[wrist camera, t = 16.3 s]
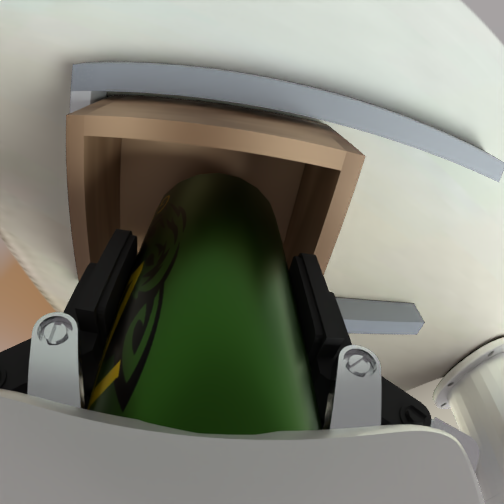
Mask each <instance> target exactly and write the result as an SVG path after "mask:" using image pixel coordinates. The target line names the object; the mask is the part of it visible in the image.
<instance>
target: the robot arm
mask: <svg viewBox="0 0 504 504" xmlns="http://www.w3.org/2000/svg"><path fill="white" fill-rule="evenodd" d="M136 257H137V236H135V235H132V231H129V230H121V229H116V230H115V232H114V233H113V235H112V237H111V239H110V240H109V242H108V244H107V246H106V248H105V250H104V251H103V253H102V255H101V257H100V259H99V261H98V263H89V265H88V266H87V268H86V269H85V271H84V273H83V275H82V277H81V279H80V281H79V283H78V284H77V286H76V288H75V290H74V292H73V294H72V296H71V298H70V300H69V302H68V304H67V306H66V308H65V310H64V312H63V313H62V312H54V313H49V314H47V315H45V316H43V317H41V318H40V319H39V320H38V321H37V322H36V324H35V325H34V328H33V331H32V338H31V339H29V340H27V341H24V342H22V343H20V344H18V345H15V346H13V347H11V348H9V349H7V350H4V351H2V352H0V504H484V502H485V504H504V337H503V338H499V339H496V340H494V341H492V342H490V343H488V344H486V345H484V346H482V347H481V348H479V349H478V350H476V351H474V352H473V353H472V354H470V355H469V356H467V357H466V358H465V359H463V360H462V361H461V362H460V363H458V364H457V365H456V366H455V367H454V368H453V369H452V370H451V371H449V372H448V373H447V374H446V376H445V377H444V378H443V379H442V380H441V381H440V383H439V384H438V385H437V387H436V389H435V391H434V393H433V400H434V402H435V404H436V406H437V407H438V408H443V409H446V408H451V410H452V412H453V414H454V417H455V420H456V422H457V425H458V427H459V429H460V431H459V430H458V429H456V428H454V427H452V426H450V425H448V424H447V423H445V422H443V421H441V420H440V419H438V418H436V417H435V418H434V419H431V415H430V413H429V411H428V409H427V408H426V407H425V406H424V405H423V404H422V403H421V402H419V401H418V400H416V399H415V398H413V397H412V396H410V395H409V394H407V393H406V392H404V391H403V390H401V389H400V388H398V387H397V386H395V385H394V384H392V383H391V382H390V381H388V380H387V379H385V378H384V377H382V376H381V364H380V361H379V359H378V357H377V356H376V355H375V354H374V353H373V352H372V351H370V350H369V349H367V348H365V347H363V346H359V345H352V343H351V341H350V338H349V335H348V332H347V329H346V326H345V323H344V320H343V317H342V314H341V312H340V309H339V306H338V303H337V300H336V298H335V295H334V293H332V292H329V290H328V287H327V284H326V282H325V279H324V276H323V273H322V270H321V268H320V265H319V262H318V259H317V257H316V255H313V254H306V253H299V255H298V256H294V257H293V259H292V262H291V265H290V268H289V274H290V278H291V283H292V287H293V291H294V296H295V300H296V305H297V309H298V313H299V318H300V322H301V327H302V331H303V336H304V341H305V345H306V350H307V355H308V359H309V364H310V369H311V373H312V378H313V383H314V388H315V393H316V398H317V403H318V408H319V413H320V418H321V423H322V428H323V430H307V431H277V432H270V433H264V434H257V435H225V434H202V433H194V432H189V431H184V430H179V429H174V428H169V427H164V426H160V425H155V424H151V423H147V422H143V421H141V420H137V419H131V418H126V417H120V416H115V415H110V414H105V413H100V412H96V411H91V410H87V406H88V402H89V398H90V394H91V391H92V387H93V384H94V380H95V377H96V373H97V370H98V366H99V363H100V360H101V356H102V353H103V350H104V347H105V344H106V340H107V337H108V334H109V331H110V328H111V325H112V322H113V319H114V316H115V314H116V311H117V308H118V305H119V302H120V299H121V297H122V294H123V291H124V288H125V286H126V283H127V280H128V278H129V275H130V272H131V270H132V267H133V265H134V262H135V260H136ZM475 473H476V475H475ZM476 476H477V478H476ZM477 479H478V481H477ZM478 482H479V484H478ZM479 486H480V487H479ZM480 489H481V490H480ZM481 492H482V494H481ZM482 495H483V497H482ZM483 499H484V501H483Z"/></svg>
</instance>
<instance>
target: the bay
mask: <svg viewBox="0 0 504 504" xmlns="http://www.w3.org/2000/svg"><path fill="white" fill-rule="evenodd" d="M107 91H117V92H139V93H155V94H168V95H178V96H188V97H197V98H205V99H213V100H220V101H227V102H234V103H240V104H246V105H252V106H258V107H264V108H269V109H274V110H279V111H284V112H289V113H294V114H298V115H303V116H307V117H311V118H316V119H320V120H324V121H328V122H332V123H336V124H339V125H343V126H347V127H351V128H354V129H358V130H361V131H365V132H368V133H371V134H375V135H378V136H381V137H384V138H388V139H391V140H394V141H397V142H400V143H403V144H406V145H409V146H411V147H414V148H417V149H420V150H423V151H425V152H428V153H431V154H434V155H436V156H439V157H441V158H444V159H447V160H449V161H452V162H454V163H456V164H459V165H461V166H464V167H466V168H468V169H471V170H473V171H475V172H478V173H480V174H482V175H484V176H487V177H489V178H491V179H493V180H495V181H497V182H499V181H500V178H501V176H502V173H503V171H504V162H502V161H501V160H499V159H497V158H496V157H494V156H492V155H491V154H489V153H487V152H485V151H483V150H482V149H480V148H478V147H476V146H473V145H471V144H469V143H467V142H465V141H463V140H461V139H459V138H457V137H454V136H452V135H450V134H448V133H446V132H443V131H441V130H439V129H436V128H434V127H432V126H429V125H427V124H424V123H422V122H419V121H417V120H414V119H412V118H409V117H406V116H404V115H401V114H398V113H396V112H393V111H390V110H387V109H384V108H382V107H379V106H376V105H373V104H370V103H366V102H363V101H360V100H357V99H354V98H350V97H347V96H344V95H340V94H337V93H333V92H329V91H326V90H322V89H318V88H314V87H310V86H306V85H302V84H297V83H293V82H289V81H284V80H279V79H274V78H269V77H264V76H259V75H253V74H247V73H241V72H235V71H228V70H221V69H214V68H206V67H197V66H187V65H176V64H162V63H143V62H88V63H80V64H73V69H72V81H71V96H70V113H72V112H74V111H77V110H79V109H81V108H83V107H86V106H88V105H90V104H93V103H95V102H98V101H100V100H103V99H105V98H107ZM335 298H336V297H335ZM336 300H337V303H338V306H339V309H340V312H341V314H342V317H343V320H344V323H345V326H346V329H347V332H348V333H361V334H417V333H418V332H419V330H420V329H421V327H422V326H423V324H424V323H425V322H424V320H423V319H422V317H421V315H420V313H419V311H418V310H417V308H416V306H415V304H414V303H400V302H386V301H373V300H360V299H348V298H336Z"/></svg>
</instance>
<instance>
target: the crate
mask: <svg viewBox="0 0 504 504" xmlns="http://www.w3.org/2000/svg"><path fill="white" fill-rule="evenodd" d="M364 159H365V155H363V154H362V153H361V152H360V151H359V150H358V149H356V148H355V147H354V146H353V145H352V144H350V143H349V142H348V141H347V140H346V139H344V138H343V137H342V136H341V135H339V134H338V133H337V132H336V131H334V130H333V129H332V128H331V127H329V126H328V125H327V124H323V123H319V122H315V121H310V120H306V119H302V118H297V117H292V116H288V115H283V114H278V113H273V112H267V111H262V110H256V109H251V108H245V107H239V106H232V105H225V104H218V103H211V102H203V101H195V100H186V99H176V98H165V97H152V96H136V95H113V96H110V97H108V98H105V99H103V100H100V101H98V102H95V103H93V104H90V105H88V106H86V107H83V108H81V109H79V110H77V111H74V112H72V113H70V114H68V115H66V166H67V187H68V201H69V213H70V223H71V232H72V240H73V248H74V255H75V262H76V268H77V274H78V280H79V281H80V279H81V277H82V275H83V273H84V271H85V269H86V268H87V266H88V265H89V263H98V261H99V259H100V257H101V255H102V253H103V251H104V250H105V248H106V246H107V244H108V242H109V240H110V239H111V237H112V235H113V233H114V232H115V230H116V229H121V230H129V231H132V235H135V236H137V255H138V252H139V250H140V247H141V245H142V242H143V240H144V237H145V235H146V233H147V230H148V228H149V225H150V223H151V221H152V218H153V216H154V214H155V212H156V210H157V208H158V206H159V204H160V202H161V200H162V198H163V197H164V195H165V194H166V193H167V192H168V191H170V190H171V189H172V188H173V187H174V186H175V185H176V184H177V183H179V182H181V181H183V180H186V179H188V178H190V177H193V176H195V175H199V174H210V173H222V174H226V175H231V176H235V177H240V178H241V179H243V180H245V181H247V182H248V183H250V184H252V185H253V186H255V187H257V188H258V189H259V190H260V192H261V193H262V194H263V195H264V196H265V197H266V198H267V200H268V201H269V202H270V204H271V207H272V209H273V212H274V214H275V217H276V220H277V224H278V228H279V232H280V236H281V240H282V245H283V249H284V253H285V257H286V261H287V266H288V270H289V268H290V265H291V262H292V259H293V257H294V256H298V255H299V253H306V254H313V255H316V257H317V259H318V262H319V265H320V268H321V270H322V273H323V275H324V272H325V270H326V267H327V264H328V262H329V259H330V256H331V254H332V251H333V249H334V246H335V243H336V240H337V238H338V235H339V232H340V230H341V227H342V224H343V221H344V218H345V216H346V213H347V210H348V207H349V204H350V201H351V198H352V195H353V193H354V190H355V187H356V184H357V181H358V178H359V175H360V172H361V168H362V165H363V162H364Z"/></svg>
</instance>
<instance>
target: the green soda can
mask: <svg viewBox="0 0 504 504" xmlns="http://www.w3.org/2000/svg"><path fill="white" fill-rule="evenodd" d="M87 410H91V411H96V412H100V413H105V414H110V415H115V416H120V417H126V418H131V419H137V420H141V421H143V422H147V423H151V424H155V425H160V426H164V427H169V428H174V429H179V430H184V431H189V432H194V433H202V434H225V435H257V434H264V433H270V432H277V431H307V430H323V428H322V423H321V418H320V413H319V408H318V403H317V398H316V393H315V388H314V383H313V378H312V373H311V369H310V364H309V359H308V355H307V350H306V345H305V341H304V336H303V331H302V327H301V322H300V318H299V313H298V309H297V305H296V300H295V296H294V291H293V287H292V283H291V278H290V274H289V270H288V266H287V261H286V257H285V253H284V249H283V245H282V240H281V236H280V232H279V228H278V224H277V220H276V217H275V214H274V212H273V209H272V207H271V204H270V202H269V201H268V200H267V198H266V197H265V196H264V195H263V194H262V193H261V192H260V190H259V189H258V188H257V187H255V186H253V185H252V184H250V183H248V182H247V181H245V180H243V179H241V178H240V177H235V176H231V175H226V174H222V173H210V174H199V175H195V176H193V177H190V178H188V179H186V180H183V181H181V182H179V183H177V184H176V185H175V186H174V187H173V188H172V189H171V190H170V191H168V192H167V193H166V194H165V195H164V197H163V198H162V200H161V202H160V204H159V206H158V208H157V210H156V212H155V214H154V216H153V218H152V221H151V223H150V225H149V228H148V230H147V233H146V235H145V237H144V240H143V242H142V245H141V247H140V250H139V252H138V255H137V257H136V260H135V262H134V265H133V267H132V270H131V272H130V275H129V278H128V280H127V283H126V286H125V288H124V291H123V294H122V297H121V299H120V302H119V305H118V308H117V311H116V314H115V316H114V319H113V322H112V325H111V328H110V331H109V334H108V337H107V340H106V344H105V347H104V350H103V353H102V356H101V360H100V363H99V366H98V370H97V373H96V377H95V380H94V384H93V387H92V391H91V394H90V398H89V402H88V406H87Z"/></svg>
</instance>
